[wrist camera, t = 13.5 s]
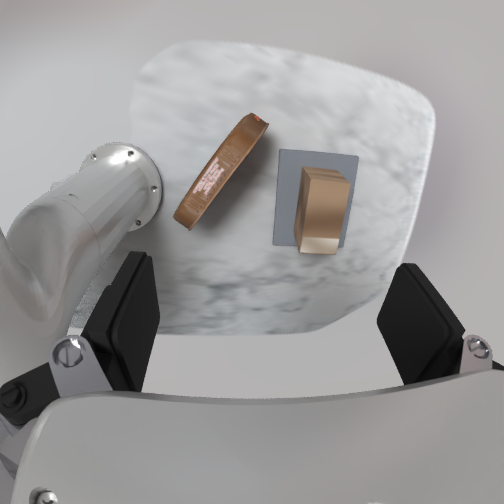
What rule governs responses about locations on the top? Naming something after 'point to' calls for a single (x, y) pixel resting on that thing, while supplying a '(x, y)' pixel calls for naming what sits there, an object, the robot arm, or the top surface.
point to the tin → (219, 169)
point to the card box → (320, 210)
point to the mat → (291, 182)
